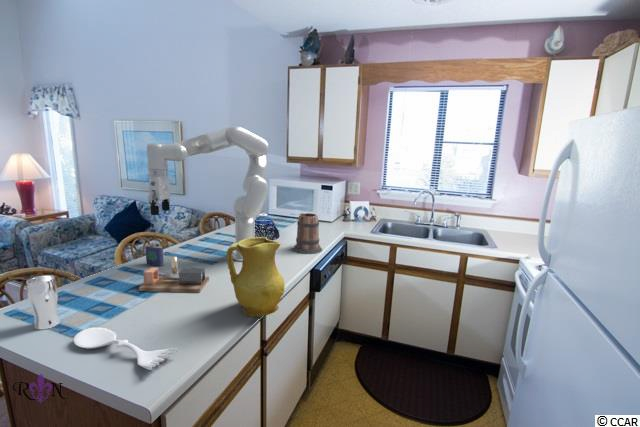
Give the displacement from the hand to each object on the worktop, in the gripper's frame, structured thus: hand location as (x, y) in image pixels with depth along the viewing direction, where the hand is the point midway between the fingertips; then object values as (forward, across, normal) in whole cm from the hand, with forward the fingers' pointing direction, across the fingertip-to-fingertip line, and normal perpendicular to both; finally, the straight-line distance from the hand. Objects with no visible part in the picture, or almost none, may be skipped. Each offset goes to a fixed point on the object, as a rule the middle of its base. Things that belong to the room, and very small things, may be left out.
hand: (160, 212), depth 142 cm
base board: (+26, -16, -12) cm, 33 cm away
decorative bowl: (+27, +60, -34) cm, 74 cm away
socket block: (+25, -16, -3) cm, 30 cm away
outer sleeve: (+25, -16, -19) cm, 35 cm away
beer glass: (+27, -47, +14) cm, 56 cm away
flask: (+27, +6, +7) cm, 28 cm away
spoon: (+27, -59, -16) cm, 67 cm away
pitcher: (+26, -31, -48) cm, 63 cm away
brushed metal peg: (+24, -16, -15) cm, 33 cm away
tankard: (+26, +40, -64) cm, 80 cm away
